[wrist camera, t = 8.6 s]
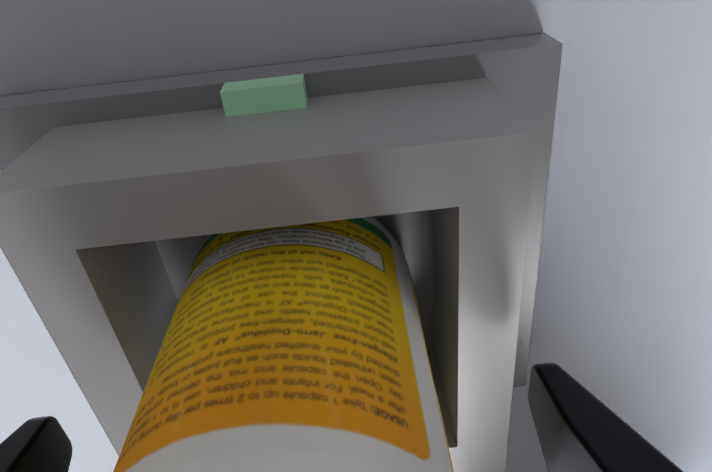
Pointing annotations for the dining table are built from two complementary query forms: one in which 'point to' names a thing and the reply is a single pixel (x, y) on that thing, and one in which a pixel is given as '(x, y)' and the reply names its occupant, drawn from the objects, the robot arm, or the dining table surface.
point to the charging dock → (291, 204)
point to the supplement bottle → (292, 360)
